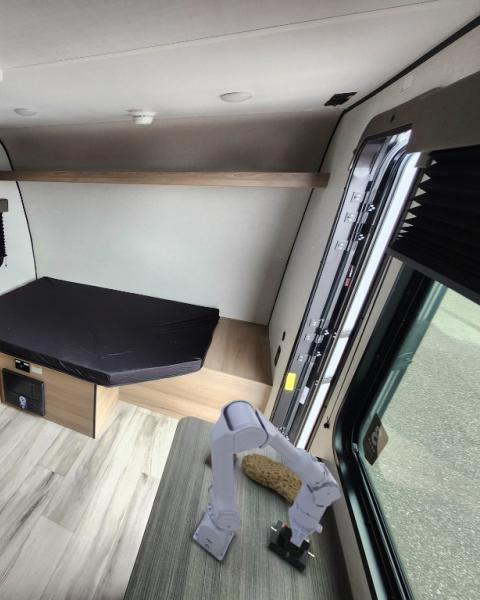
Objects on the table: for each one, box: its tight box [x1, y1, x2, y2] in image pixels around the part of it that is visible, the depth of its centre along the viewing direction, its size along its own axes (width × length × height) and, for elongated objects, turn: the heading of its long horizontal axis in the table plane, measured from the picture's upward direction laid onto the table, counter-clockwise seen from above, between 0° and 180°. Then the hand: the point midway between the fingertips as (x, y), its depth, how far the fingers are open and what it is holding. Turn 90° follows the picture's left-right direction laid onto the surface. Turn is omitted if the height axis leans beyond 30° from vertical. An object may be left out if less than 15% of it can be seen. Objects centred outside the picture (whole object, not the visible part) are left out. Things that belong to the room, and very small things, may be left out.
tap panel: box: [268, 519, 315, 573], centre depth 84 cm, size 10×10×3 cm
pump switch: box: [205, 453, 238, 468], centre depth 109 cm, size 10×7×4 cm
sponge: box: [240, 453, 303, 504], centre depth 100 cm, size 13×8×20 cm
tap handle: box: [279, 522, 310, 552], centre depth 83 cm, size 6×1×4 cm, turn 46°
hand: (292, 539), depth 83 cm, fingers open, 7 cm apart
